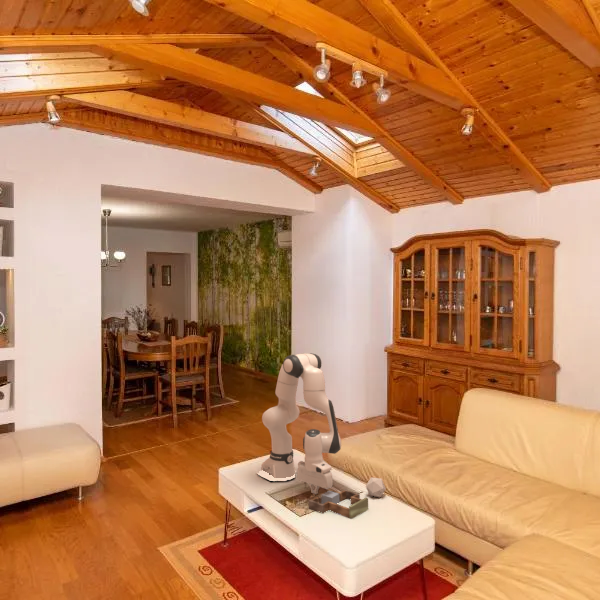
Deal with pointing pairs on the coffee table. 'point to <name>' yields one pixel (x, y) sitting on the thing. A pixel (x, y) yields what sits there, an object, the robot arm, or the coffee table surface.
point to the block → (330, 497)
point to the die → (375, 487)
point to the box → (351, 512)
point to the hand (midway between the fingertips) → (314, 493)
